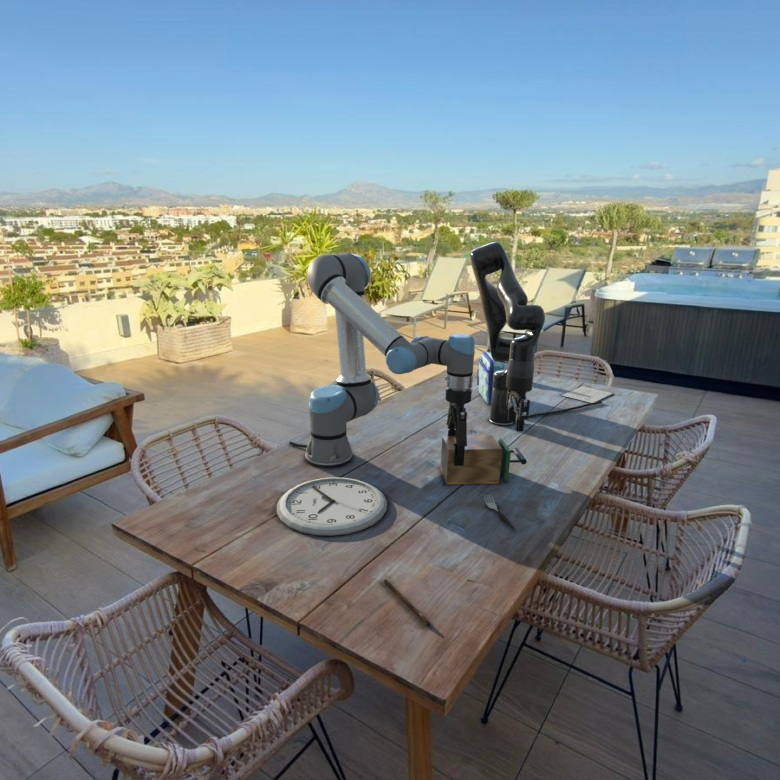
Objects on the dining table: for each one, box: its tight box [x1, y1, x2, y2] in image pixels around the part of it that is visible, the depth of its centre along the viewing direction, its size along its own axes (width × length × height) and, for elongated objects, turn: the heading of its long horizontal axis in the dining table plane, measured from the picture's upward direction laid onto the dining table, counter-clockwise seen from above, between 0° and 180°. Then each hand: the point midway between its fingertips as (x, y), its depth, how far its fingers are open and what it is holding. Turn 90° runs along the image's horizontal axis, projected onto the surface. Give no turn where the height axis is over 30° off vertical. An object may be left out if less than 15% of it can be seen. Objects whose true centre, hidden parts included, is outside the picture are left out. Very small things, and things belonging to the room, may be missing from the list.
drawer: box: [497, 438, 528, 480], centre depth 160 cm, size 20×9×9 cm, turn 94°
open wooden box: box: [440, 434, 502, 485], centre depth 160 cm, size 16×11×11 cm
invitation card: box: [560, 385, 613, 404], centre depth 242 cm, size 21×1×15 cm
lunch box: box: [476, 351, 508, 406], centre depth 230 cm, size 26×11×21 cm, turn 179°
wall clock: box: [276, 476, 388, 537], centre depth 142 cm, size 30×2×30 cm
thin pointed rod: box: [383, 578, 429, 627], centre depth 106 cm, size 15×1×1 cm, turn 34°
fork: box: [483, 493, 516, 530], centre depth 139 cm, size 3×16×2 cm, turn 15°
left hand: (454, 457), depth 159 cm, fingers closed on open wooden box, 11 cm apart
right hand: (515, 426), depth 157 cm, fingers open, 7 cm apart
